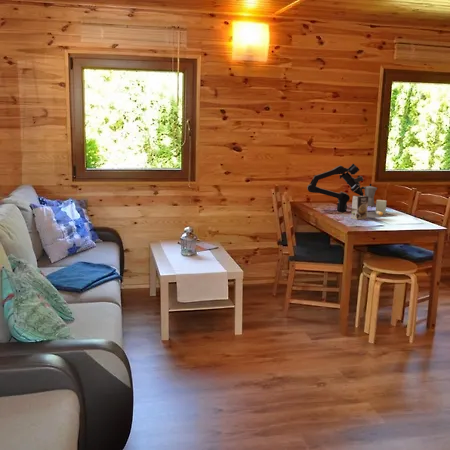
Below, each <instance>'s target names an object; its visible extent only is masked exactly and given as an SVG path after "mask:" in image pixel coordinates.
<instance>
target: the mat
mask: <svg viewBox="0 0 450 450" xmlns="http://www.w3.org/2000/svg"><path fill="white" fill-rule="evenodd" d="M390 217H397V215H395V214H391V213H388V212H386V213H385V214H383V215H382V216H379V215H377V214H376V213H375V211H367V218H372V219H377V218H390Z"/></svg>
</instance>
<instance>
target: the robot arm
mask: <svg viewBox="0 0 450 450" xmlns="http://www.w3.org/2000/svg"><path fill="white" fill-rule="evenodd" d="M358 172H360V168H359V167H358V166H357V165H355V163H352V164H350V166H349V167H344V166H343V165H338V166H335V167H334V168H332V169H330V170H328V171H324V172H322V173H318V174H314V175H313V177H312V180H311V181H310V183H309V184H307V187H306V189H307V191H308V193H311V194H321V195H325V196H329V197H332V198H336V199H337V206H336V209H335V211H336V212H339V213H345V212H346V213H347V212H348V210H347V208H348V204H347V203H348V202H349V201H350V195H349V194H348V193H347V192H344V191H342V190H340V192H336V191H332V190H329V189H325V188H322V187H319V186H317V184H318V182H319V180H323V179H325V178H328V177H331V176H336V175H337V176H338V175H339V179H342V180H344V181H345V182H346V184H347V185H348V186H349V187H350V190H351V192H353V193H355V194H357V196H362V195H363V196H364V195H365V192H364V191H363V189H362V190H361V184H360V182H362V181H364V177H363V175H357V176H356V177H354V176H355V175H356V174H357V173H358Z"/></svg>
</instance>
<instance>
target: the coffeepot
mask: <svg viewBox="0 0 450 450" xmlns="http://www.w3.org/2000/svg"><path fill="white" fill-rule="evenodd" d="M372 185H373V184H372V183H369V186H368V185H367V186H360V188H361V190H362V191H363V190H364V196H368V206H371V207H370V208H373V207H372V206H374V207H375V194H376V191H377V190H378V187H375V186H372Z"/></svg>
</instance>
